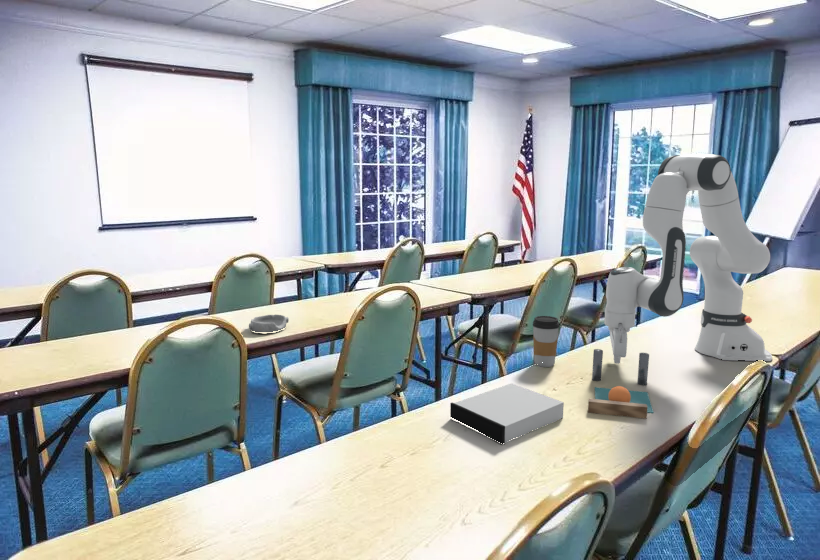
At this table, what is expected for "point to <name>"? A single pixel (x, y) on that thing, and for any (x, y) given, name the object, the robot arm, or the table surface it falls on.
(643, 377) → the post
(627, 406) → the stopper wall
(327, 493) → the table surface
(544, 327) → the coffee cup
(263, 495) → the table surface
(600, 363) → the post
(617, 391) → the ball
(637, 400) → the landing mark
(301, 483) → the table surface
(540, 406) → the disc drive
